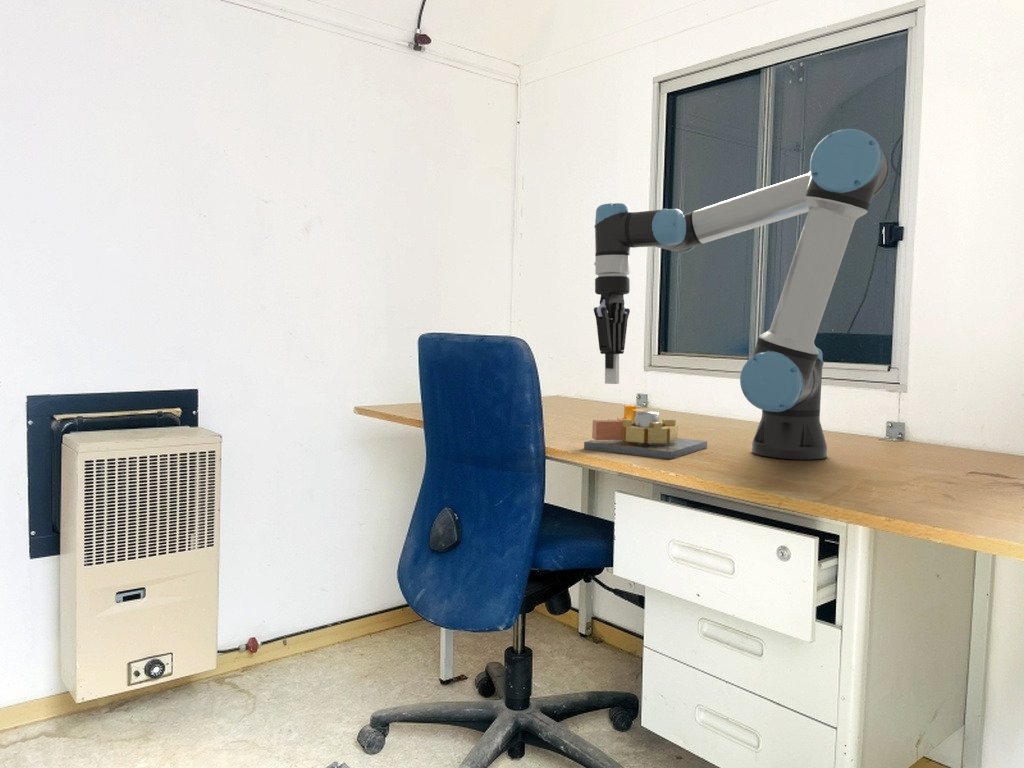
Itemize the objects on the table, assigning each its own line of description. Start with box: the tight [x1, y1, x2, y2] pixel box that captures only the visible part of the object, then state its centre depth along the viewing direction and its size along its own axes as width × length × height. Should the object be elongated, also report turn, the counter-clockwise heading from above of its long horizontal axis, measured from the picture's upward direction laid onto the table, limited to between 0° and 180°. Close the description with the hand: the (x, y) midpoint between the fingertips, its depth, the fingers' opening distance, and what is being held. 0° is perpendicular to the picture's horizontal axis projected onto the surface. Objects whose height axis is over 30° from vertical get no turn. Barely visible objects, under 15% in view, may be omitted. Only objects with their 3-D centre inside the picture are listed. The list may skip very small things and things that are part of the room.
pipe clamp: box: [616, 404, 645, 422], centre depth 201 cm, size 12×4×6 cm, turn 3°
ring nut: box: [591, 416, 679, 443], centre depth 175 cm, size 18×12×4 cm
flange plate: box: [583, 410, 708, 460], centre depth 176 cm, size 20×20×8 cm
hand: (612, 383), depth 178 cm, fingers closed
